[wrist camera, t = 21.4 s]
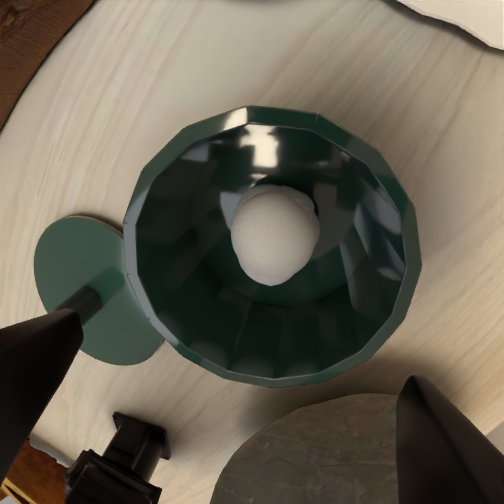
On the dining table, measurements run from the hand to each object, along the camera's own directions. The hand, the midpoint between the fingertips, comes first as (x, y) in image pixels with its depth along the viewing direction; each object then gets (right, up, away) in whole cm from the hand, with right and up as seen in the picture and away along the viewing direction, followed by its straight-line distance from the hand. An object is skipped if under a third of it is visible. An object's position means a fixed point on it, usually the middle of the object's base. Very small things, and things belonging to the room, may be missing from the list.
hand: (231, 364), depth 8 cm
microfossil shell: (+2, +4, +12) cm, 13 cm away
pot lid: (-12, -1, +16) cm, 20 cm away
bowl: (+9, -14, +18) cm, 25 cm away
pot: (+2, +5, +12) cm, 13 cm away
